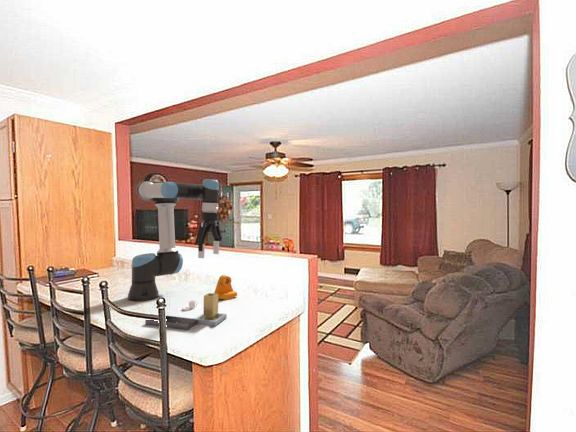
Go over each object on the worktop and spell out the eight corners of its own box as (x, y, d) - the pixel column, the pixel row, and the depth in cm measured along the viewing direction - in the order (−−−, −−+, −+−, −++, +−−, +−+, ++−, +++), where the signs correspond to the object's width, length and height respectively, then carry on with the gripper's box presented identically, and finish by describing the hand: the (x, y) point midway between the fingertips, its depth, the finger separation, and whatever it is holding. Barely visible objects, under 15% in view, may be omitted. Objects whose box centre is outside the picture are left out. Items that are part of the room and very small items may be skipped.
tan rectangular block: (203, 321, 129) (203, 295, 129) (208, 317, 134) (209, 292, 134) (212, 322, 128) (213, 296, 128) (217, 318, 133) (218, 293, 132)
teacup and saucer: (182, 313, 141) (182, 304, 141) (180, 308, 149) (181, 300, 149) (201, 311, 145) (201, 302, 145) (199, 306, 152) (199, 298, 152)
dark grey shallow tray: (145, 325, 125) (145, 319, 125) (156, 319, 131) (156, 314, 131) (188, 331, 120) (188, 324, 120) (197, 324, 126) (197, 318, 126)
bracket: (220, 300, 161) (220, 278, 161) (214, 297, 167) (214, 276, 166) (237, 297, 168) (238, 276, 168) (231, 294, 174) (231, 273, 173)
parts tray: (194, 323, 127) (194, 319, 127) (206, 316, 137) (206, 311, 137) (215, 326, 125) (215, 321, 125) (226, 318, 134) (226, 314, 134)
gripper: (202, 212, 132) (201, 260, 132) (229, 212, 156) (228, 253, 156) (187, 211, 134) (186, 259, 134) (216, 211, 158) (215, 251, 158)
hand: (208, 256), depth 145 cm, fingers open, 13 cm apart
